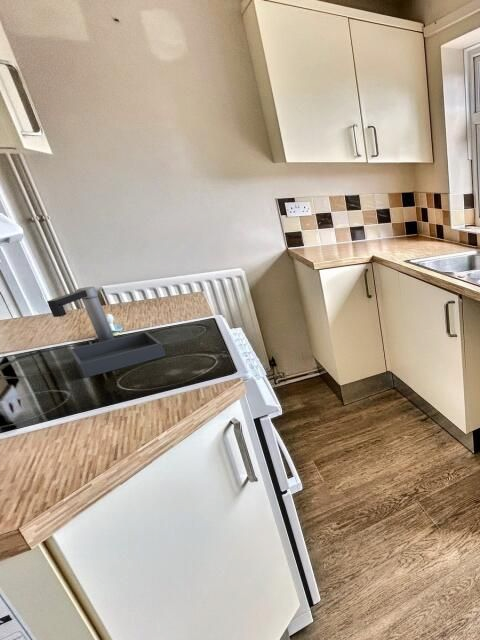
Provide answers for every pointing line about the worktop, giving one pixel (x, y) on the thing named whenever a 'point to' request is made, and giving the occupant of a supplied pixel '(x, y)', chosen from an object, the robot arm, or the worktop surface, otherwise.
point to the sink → (116, 353)
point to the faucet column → (98, 319)
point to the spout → (70, 300)
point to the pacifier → (113, 325)
